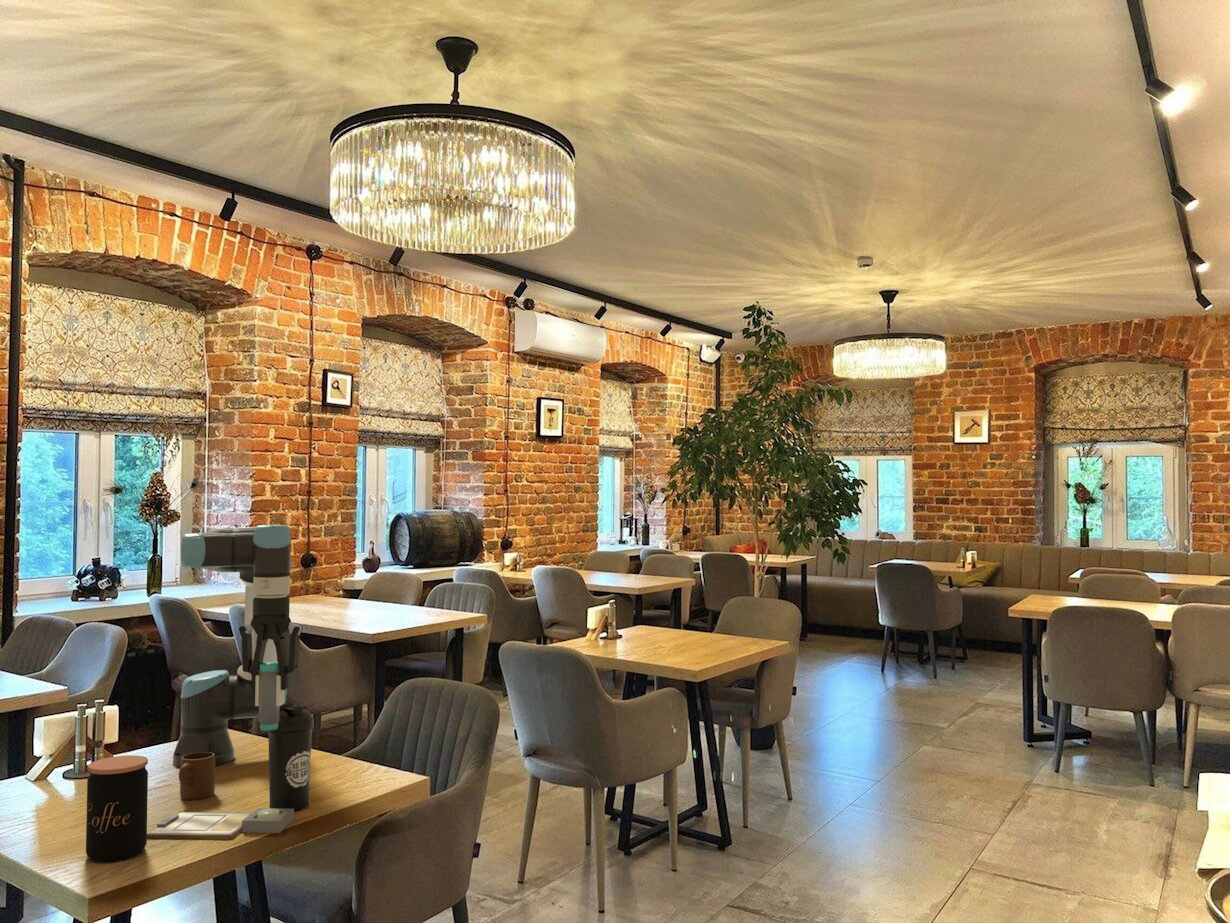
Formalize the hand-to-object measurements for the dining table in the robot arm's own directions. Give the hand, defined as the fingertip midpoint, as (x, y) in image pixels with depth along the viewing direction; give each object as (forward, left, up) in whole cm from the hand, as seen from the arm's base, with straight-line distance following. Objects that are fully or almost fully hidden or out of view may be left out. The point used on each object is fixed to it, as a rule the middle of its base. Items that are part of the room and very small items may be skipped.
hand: (269, 704), depth 205 cm
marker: (0, 0, -5) cm, 5 cm away
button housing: (0, 0, -26) cm, 26 cm away
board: (+1, -13, -26) cm, 29 cm away
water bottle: (-13, 0, -26) cm, 29 cm away
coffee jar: (+17, -23, -26) cm, 39 cm away
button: (0, 0, -26) cm, 26 cm away
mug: (-18, -25, -26) cm, 41 cm away
